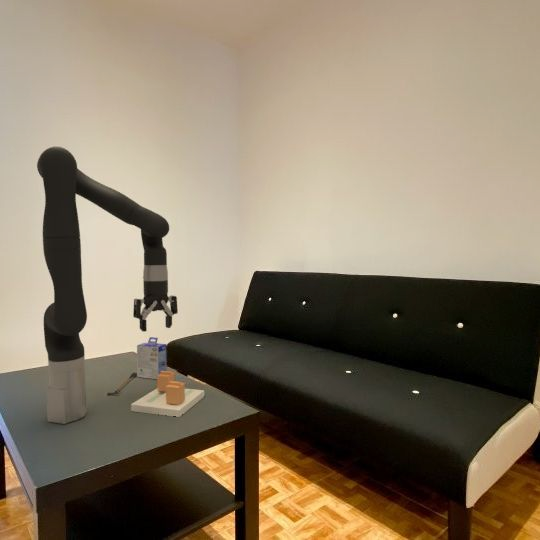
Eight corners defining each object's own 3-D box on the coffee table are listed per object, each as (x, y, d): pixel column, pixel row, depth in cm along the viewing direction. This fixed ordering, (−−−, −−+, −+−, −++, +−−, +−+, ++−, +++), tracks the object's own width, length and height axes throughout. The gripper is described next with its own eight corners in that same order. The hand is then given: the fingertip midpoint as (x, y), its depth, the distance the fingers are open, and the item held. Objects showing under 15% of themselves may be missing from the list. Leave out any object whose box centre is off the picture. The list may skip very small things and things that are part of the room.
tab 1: (168, 392, 125) (168, 374, 124) (157, 390, 126) (157, 373, 125) (175, 387, 128) (174, 370, 128) (164, 386, 129) (163, 369, 129)
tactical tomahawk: (126, 399, 128) (126, 395, 128) (106, 397, 128) (106, 393, 128) (149, 376, 149) (149, 373, 149) (131, 375, 149) (132, 372, 149)
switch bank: (179, 417, 111) (179, 410, 111) (131, 411, 116) (130, 404, 116) (204, 396, 127) (204, 390, 126) (160, 391, 131) (160, 385, 131)
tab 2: (178, 404, 115) (177, 385, 114) (166, 403, 116) (165, 383, 115) (184, 399, 118) (184, 380, 118) (173, 398, 120) (172, 379, 119)
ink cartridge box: (167, 375, 148) (166, 337, 147) (159, 380, 143) (158, 341, 142) (145, 372, 151) (144, 335, 150) (136, 377, 146) (135, 339, 145)
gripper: (140, 281, 117) (140, 334, 118) (181, 278, 127) (181, 328, 128) (129, 279, 123) (129, 330, 124) (169, 277, 133) (170, 324, 134)
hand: (156, 329), depth 126 cm, fingers open, 8 cm apart
